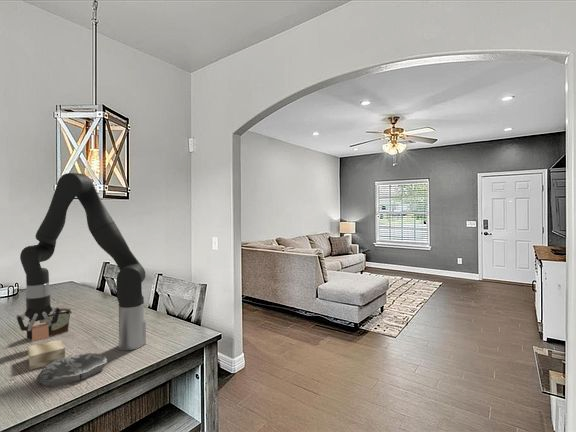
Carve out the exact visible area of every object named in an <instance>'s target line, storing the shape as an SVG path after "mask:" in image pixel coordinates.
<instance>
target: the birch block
mask: <svg viewBox="0 0 576 432" xmlns="http://www.w3.org/2000/svg"><path fill="white" fill-rule="evenodd" d="M27 348H28V350H27V353H28V354H27V355H28V358H27V359H28V366H29V370H34V369H38V368H41V367H46V366H47V365H48V364H50V363H52V362H53V361H55V360H58V359H61V358H66V347H65V345H64V342H63V339H61V338H60V339H55V340H52V341H48V342H43V343H38V344H34V345H33V344H32V345H30V346H28V347H27Z"/></svg>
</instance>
